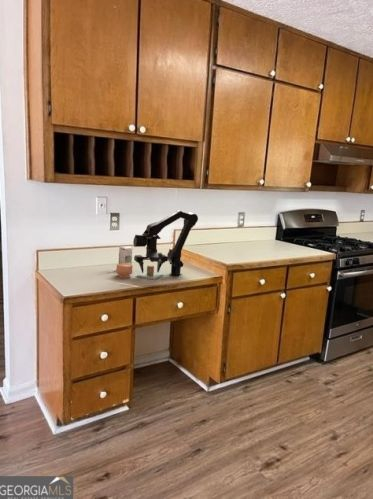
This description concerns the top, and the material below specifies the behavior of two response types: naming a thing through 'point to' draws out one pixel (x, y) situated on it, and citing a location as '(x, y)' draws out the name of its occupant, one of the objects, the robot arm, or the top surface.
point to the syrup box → (125, 255)
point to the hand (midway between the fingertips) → (150, 272)
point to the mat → (151, 279)
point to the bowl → (124, 270)
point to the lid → (150, 273)
